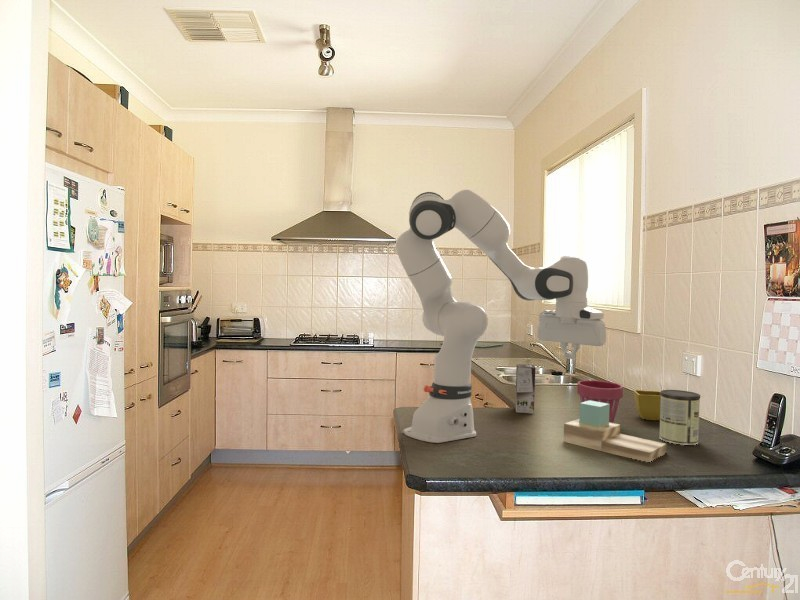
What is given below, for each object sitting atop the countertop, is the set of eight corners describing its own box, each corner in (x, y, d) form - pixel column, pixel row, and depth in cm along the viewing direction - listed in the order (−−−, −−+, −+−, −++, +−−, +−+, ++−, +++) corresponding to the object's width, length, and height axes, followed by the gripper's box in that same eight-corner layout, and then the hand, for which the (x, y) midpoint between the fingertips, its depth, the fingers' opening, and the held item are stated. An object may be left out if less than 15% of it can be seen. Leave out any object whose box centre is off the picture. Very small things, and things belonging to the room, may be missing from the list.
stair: (649, 463, 131) (650, 442, 131) (563, 441, 148) (564, 423, 148) (666, 453, 139) (666, 434, 139) (583, 434, 156) (583, 417, 156)
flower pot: (637, 420, 175) (638, 394, 175) (632, 414, 183) (633, 389, 183) (665, 423, 173) (666, 396, 172) (659, 416, 181) (660, 391, 181)
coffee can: (660, 433, 159) (661, 388, 159) (698, 439, 154) (700, 392, 153) (657, 441, 150) (659, 393, 150) (698, 448, 145) (700, 398, 144)
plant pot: (618, 430, 161) (620, 389, 161) (572, 423, 168) (573, 384, 168) (623, 420, 174) (625, 383, 174) (580, 414, 181) (581, 378, 181)
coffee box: (534, 414, 180) (535, 367, 180) (515, 412, 182) (516, 366, 181) (533, 408, 189) (534, 364, 189) (515, 407, 191) (516, 363, 190)
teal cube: (599, 428, 143) (600, 406, 143) (579, 424, 148) (579, 403, 147) (608, 424, 147) (609, 403, 147) (588, 420, 152) (589, 400, 152)
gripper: (534, 310, 158) (532, 355, 158) (599, 313, 143) (597, 363, 143) (545, 310, 162) (543, 354, 163) (609, 313, 148) (607, 361, 148)
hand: (569, 358), depth 153 cm, fingers closed
